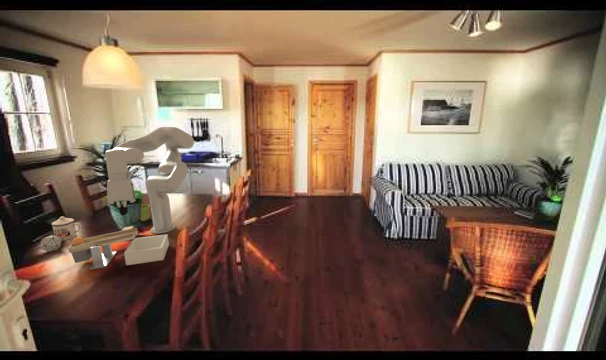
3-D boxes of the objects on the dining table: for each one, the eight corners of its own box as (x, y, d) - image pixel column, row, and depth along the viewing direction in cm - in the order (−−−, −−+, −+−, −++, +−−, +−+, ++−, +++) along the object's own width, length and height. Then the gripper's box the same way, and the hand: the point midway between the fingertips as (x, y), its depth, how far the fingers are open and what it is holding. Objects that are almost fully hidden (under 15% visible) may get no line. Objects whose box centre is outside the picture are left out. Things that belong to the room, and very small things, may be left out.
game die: (49, 260, 125) (26, 249, 119) (57, 246, 132) (37, 235, 126) (64, 251, 125) (42, 239, 119) (72, 238, 132) (52, 226, 126)
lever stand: (101, 254, 123) (98, 236, 121) (116, 252, 125) (113, 234, 122) (89, 269, 111) (85, 249, 109) (106, 267, 113) (102, 247, 110)
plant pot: (130, 221, 163) (128, 207, 161) (145, 216, 171) (143, 203, 169) (139, 223, 159) (137, 210, 157) (154, 218, 167) (152, 205, 165)
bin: (135, 249, 128) (133, 238, 126) (168, 245, 132) (167, 234, 131) (126, 265, 114) (124, 252, 113) (163, 259, 118) (161, 247, 117)
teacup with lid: (51, 242, 135) (46, 221, 132) (60, 235, 144) (56, 215, 141) (79, 239, 139) (74, 218, 136) (86, 232, 147) (83, 212, 145)
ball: (77, 245, 115) (72, 237, 114) (87, 241, 116) (83, 233, 115) (73, 249, 111) (68, 241, 110) (83, 245, 112) (78, 237, 111)
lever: (90, 246, 126) (84, 232, 124) (145, 234, 132) (141, 221, 130) (73, 264, 111) (67, 248, 109) (136, 249, 117) (131, 234, 115)
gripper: (139, 174, 126) (144, 210, 130) (102, 176, 122) (108, 213, 126) (135, 177, 119) (140, 215, 123) (95, 179, 115) (102, 219, 119)
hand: (124, 214), depth 124 cm, fingers closed
